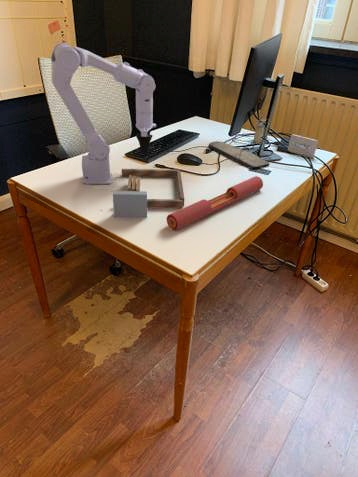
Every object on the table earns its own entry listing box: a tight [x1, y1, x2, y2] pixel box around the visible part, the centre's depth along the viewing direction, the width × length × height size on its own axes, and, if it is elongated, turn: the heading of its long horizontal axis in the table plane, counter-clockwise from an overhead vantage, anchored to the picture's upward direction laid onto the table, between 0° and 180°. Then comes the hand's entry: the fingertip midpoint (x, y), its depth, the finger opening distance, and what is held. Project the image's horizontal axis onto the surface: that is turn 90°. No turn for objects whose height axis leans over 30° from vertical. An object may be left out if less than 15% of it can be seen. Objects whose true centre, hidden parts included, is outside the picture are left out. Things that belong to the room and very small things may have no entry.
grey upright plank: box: [112, 190, 148, 219], centre depth 107 cm, size 2×10×8 cm, turn 94°
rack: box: [121, 168, 185, 209], centre depth 123 cm, size 22×24×3 cm
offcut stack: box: [126, 175, 141, 191], centre depth 123 cm, size 4×10×4 cm, turn 4°
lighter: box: [253, 118, 267, 143], centre depth 168 cm, size 7×4×10 cm, turn 135°
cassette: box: [287, 133, 319, 158], centre depth 157 cm, size 12×2×8 cm, turn 53°
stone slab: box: [208, 140, 270, 170], centre depth 154 cm, size 10×3×30 cm
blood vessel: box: [166, 175, 264, 231], centre depth 116 cm, size 42×5×5 cm, turn 134°
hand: (144, 149), depth 130 cm, fingers open, 7 cm apart
